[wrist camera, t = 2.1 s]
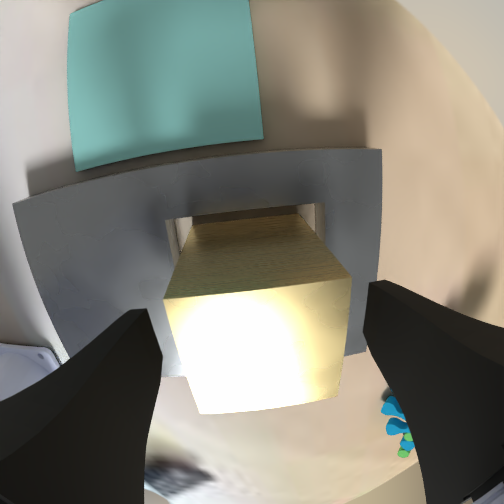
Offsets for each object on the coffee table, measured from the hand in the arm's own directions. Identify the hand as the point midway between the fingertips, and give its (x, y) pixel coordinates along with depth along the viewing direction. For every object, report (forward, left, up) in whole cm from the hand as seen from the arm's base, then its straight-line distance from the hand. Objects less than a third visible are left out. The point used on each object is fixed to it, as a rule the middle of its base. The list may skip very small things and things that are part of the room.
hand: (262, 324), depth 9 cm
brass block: (0, 0, -4) cm, 4 cm away
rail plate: (-3, 0, -4) cm, 5 cm away
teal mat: (-3, +9, -4) cm, 11 cm away
